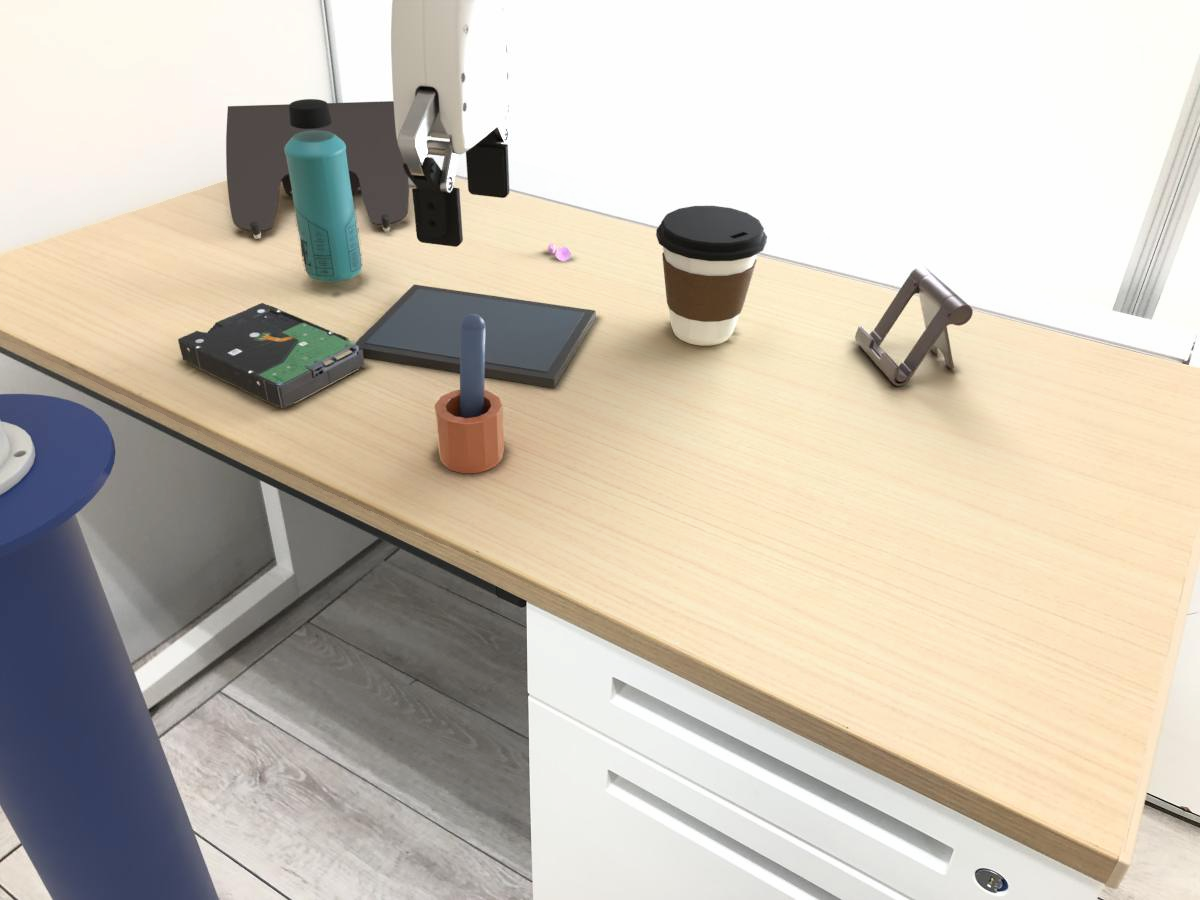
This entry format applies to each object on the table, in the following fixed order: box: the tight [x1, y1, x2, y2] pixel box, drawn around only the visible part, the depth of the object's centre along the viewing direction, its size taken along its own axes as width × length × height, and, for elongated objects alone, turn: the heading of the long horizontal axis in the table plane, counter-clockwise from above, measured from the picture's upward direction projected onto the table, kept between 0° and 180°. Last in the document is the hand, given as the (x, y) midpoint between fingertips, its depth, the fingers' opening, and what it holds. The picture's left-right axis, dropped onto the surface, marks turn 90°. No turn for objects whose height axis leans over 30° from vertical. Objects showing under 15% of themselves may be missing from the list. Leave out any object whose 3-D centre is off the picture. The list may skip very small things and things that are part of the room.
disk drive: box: [177, 302, 365, 409], centre depth 92 cm, size 10×3×15 cm
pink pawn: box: [547, 243, 572, 262], centre depth 116 cm, size 3×2×2 cm
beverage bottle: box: [284, 98, 363, 283], centre depth 103 cm, size 6×7×20 cm
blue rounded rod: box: [459, 314, 486, 418], centre depth 79 cm, size 2×2×12 cm
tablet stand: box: [854, 266, 974, 387], centre depth 94 cm, size 9×8×8 cm
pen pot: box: [434, 389, 505, 474], centre depth 80 cm, size 5×5×5 cm
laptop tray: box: [225, 100, 410, 240], centre depth 126 cm, size 23×23×9 cm
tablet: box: [355, 284, 597, 389], centre depth 99 cm, size 15×21×1 cm
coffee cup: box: [655, 205, 768, 347], centre depth 98 cm, size 11×11×12 cm
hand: (465, 217), depth 70 cm, fingers open, 9 cm apart
